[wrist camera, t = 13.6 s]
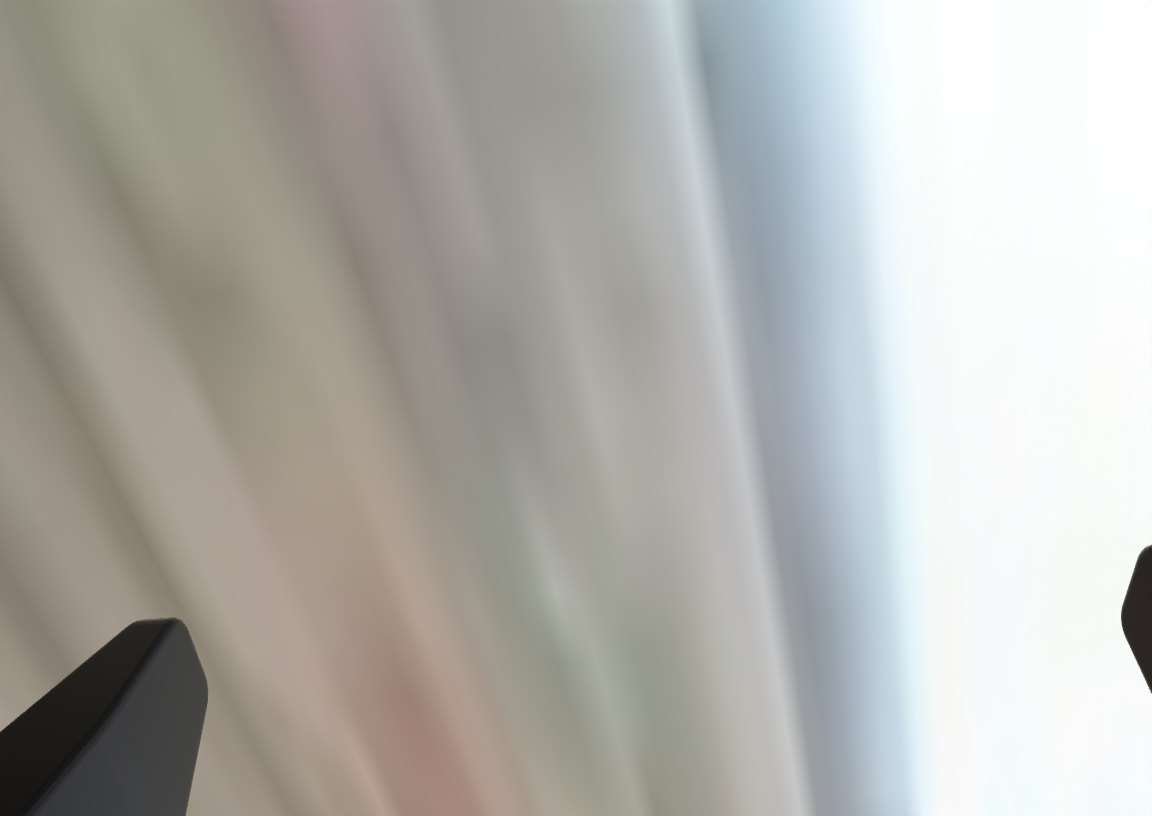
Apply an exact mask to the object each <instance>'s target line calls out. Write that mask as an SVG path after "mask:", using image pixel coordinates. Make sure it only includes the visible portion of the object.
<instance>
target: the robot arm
mask: <svg viewBox="0 0 1152 816" xmlns="http://www.w3.org/2000/svg"><path fill="white" fill-rule="evenodd" d="M1121 621H1122V627H1123V631H1124V634H1125V637H1126V639H1127V641H1128V644H1129V646H1130V648H1131V650H1132V652H1133V654H1134V657H1135V659H1136V661H1137V663H1138V665H1139V667H1140V669H1141V672H1142V674H1143V676H1144V678H1145V680H1146V682H1147V685H1148V687H1149V689H1150V691H1151V693H1152V545H1149V546H1147V547H1145V548H1144V549H1143V550H1142V551H1141V553H1140V554H1139V556H1138V559H1137V562H1136V565H1135V568H1134V572H1133V575H1132V578H1131V581H1130V584H1129V587H1128V590H1127V593H1126V596H1125V599H1124V603H1123V606H1122V611H1121ZM207 702H208V686H207V680H206V676H205V674H204V671H203V668H202V666H201V663H200V660H199V658H198V655H197V652H196V650H195V647H194V644H193V642H192V639H191V636H190V634H189V631H188V629H187V627H186V625H185V624H184V623H183V621H181V620H180V619H177V618H160V619H147V620H140V621H136V622H134V623H132V624H130V625H129V626H128V627H126V628H125V629H124V630H123V631H121V632H120V633H119V634H118V635H117V636H115V637H114V638H113V639H112V640H111V641H109V642H108V643H107V644H106V645H104V646H103V647H102V648H101V649H100V650H98V651H97V652H96V653H95V654H94V655H92V656H91V657H90V658H89V659H88V660H86V661H85V662H84V663H83V664H82V665H80V666H79V667H78V668H77V669H76V670H74V671H73V672H72V673H71V674H69V675H68V676H67V677H66V678H65V679H63V680H62V681H61V682H60V683H59V684H57V685H56V686H55V687H54V688H53V689H51V690H50V691H49V692H48V693H47V694H45V695H44V696H43V697H42V698H41V699H39V700H38V701H37V702H36V703H34V704H33V705H32V706H31V707H30V708H28V709H27V710H26V711H25V712H24V713H22V714H21V715H20V716H19V717H18V718H16V719H15V720H14V721H13V722H12V723H10V724H9V725H8V726H7V727H6V728H4V729H3V730H2V731H1V732H0V816H186V811H187V806H188V801H189V796H190V791H191V785H192V780H193V775H194V770H195V765H196V760H197V755H198V749H199V744H200V739H201V734H202V729H203V724H204V719H205V713H206V708H207Z"/></svg>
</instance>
